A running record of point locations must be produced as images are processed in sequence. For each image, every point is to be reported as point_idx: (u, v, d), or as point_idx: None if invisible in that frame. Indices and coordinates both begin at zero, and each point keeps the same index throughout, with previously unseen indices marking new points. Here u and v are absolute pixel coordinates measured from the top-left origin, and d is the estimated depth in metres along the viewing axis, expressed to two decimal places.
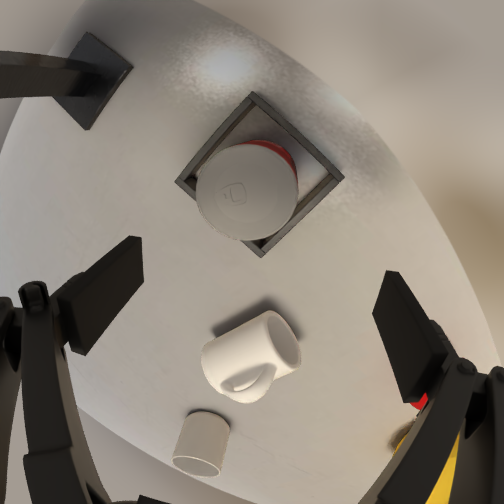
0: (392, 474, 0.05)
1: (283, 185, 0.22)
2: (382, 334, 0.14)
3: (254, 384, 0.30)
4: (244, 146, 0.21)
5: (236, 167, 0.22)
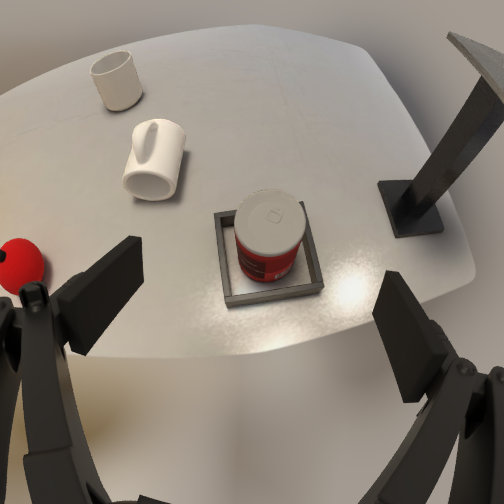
0: (392, 474, 0.05)
1: (259, 243, 0.31)
2: (382, 334, 0.14)
3: (144, 140, 0.36)
4: (298, 239, 0.31)
5: (289, 227, 0.32)
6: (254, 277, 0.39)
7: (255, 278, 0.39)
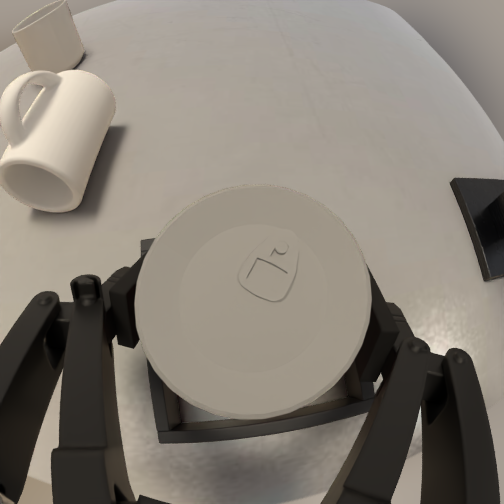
0: (355, 461, 0.05)
1: (213, 378, 0.08)
2: None
3: (15, 101, 0.14)
4: (349, 363, 0.08)
5: (318, 315, 0.09)
6: None
7: None
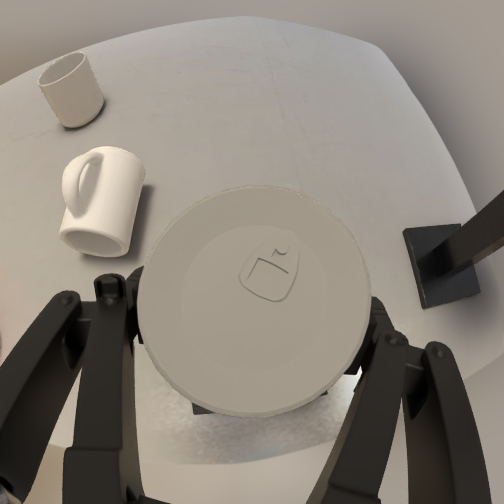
0: (338, 457, 0.05)
1: (214, 377, 0.09)
2: None
3: (77, 187, 0.24)
4: (348, 362, 0.08)
5: (318, 314, 0.09)
6: None
7: None
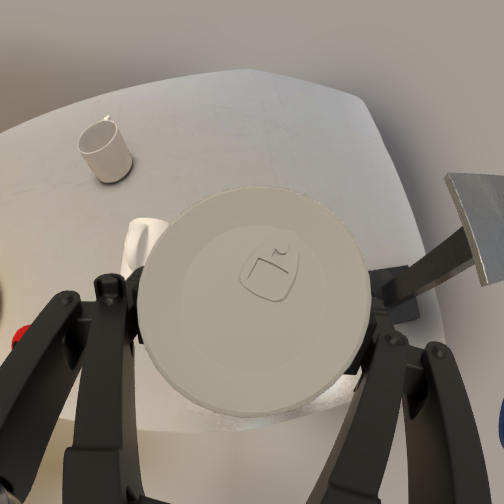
0: (338, 457, 0.05)
1: (214, 377, 0.09)
2: None
3: (136, 254, 0.40)
4: (348, 362, 0.08)
5: (318, 314, 0.09)
6: None
7: None
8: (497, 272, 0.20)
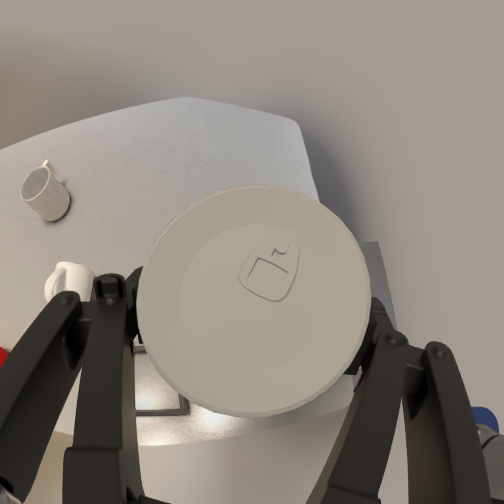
0: (338, 457, 0.05)
1: (213, 377, 0.09)
2: None
3: (52, 297, 0.43)
4: (348, 361, 0.08)
5: (318, 314, 0.09)
6: None
7: None
8: None
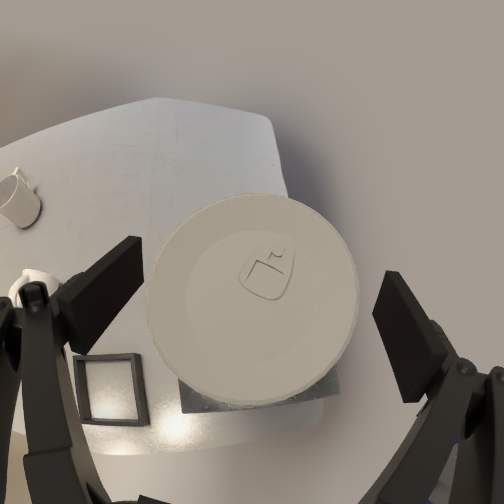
0: (392, 474, 0.05)
1: (216, 368, 0.10)
2: (382, 334, 0.14)
3: (15, 304, 0.39)
4: (338, 354, 0.09)
5: (311, 311, 0.10)
6: None
7: None
8: (206, 403, 0.19)
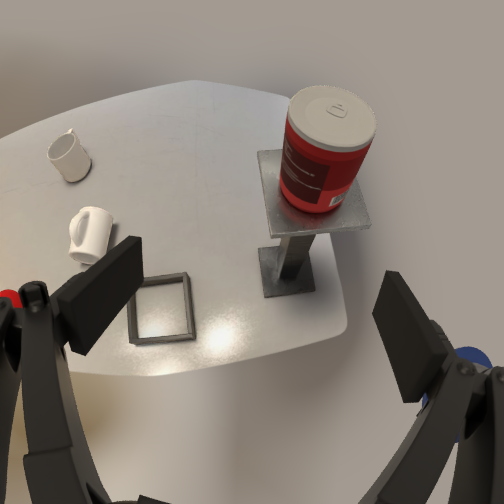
0: (392, 474, 0.05)
1: (323, 135, 0.22)
2: (382, 334, 0.14)
3: (76, 232, 0.51)
4: (372, 135, 0.22)
5: (357, 123, 0.22)
6: (303, 203, 0.29)
7: (304, 204, 0.30)
8: (287, 226, 0.31)
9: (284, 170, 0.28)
